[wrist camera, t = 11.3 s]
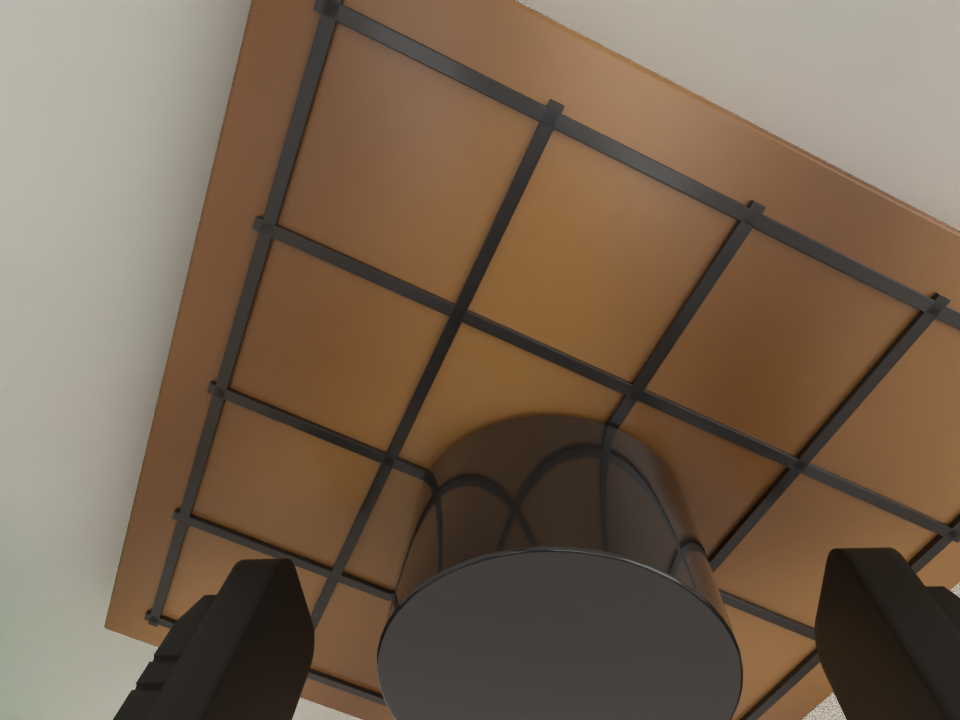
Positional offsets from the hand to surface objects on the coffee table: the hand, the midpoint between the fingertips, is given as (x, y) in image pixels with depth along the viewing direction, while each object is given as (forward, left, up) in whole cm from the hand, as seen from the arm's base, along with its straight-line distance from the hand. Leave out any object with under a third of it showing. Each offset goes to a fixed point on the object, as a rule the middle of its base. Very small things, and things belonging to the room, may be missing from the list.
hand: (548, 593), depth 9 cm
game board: (0, 0, -3) cm, 3 cm away
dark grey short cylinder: (0, 0, -2) cm, 2 cm away
